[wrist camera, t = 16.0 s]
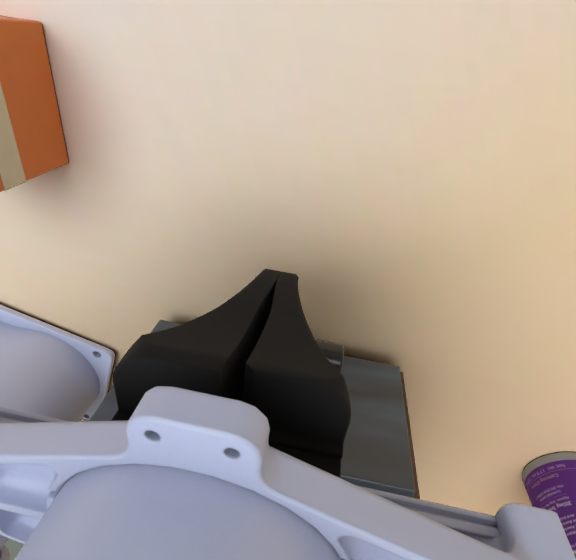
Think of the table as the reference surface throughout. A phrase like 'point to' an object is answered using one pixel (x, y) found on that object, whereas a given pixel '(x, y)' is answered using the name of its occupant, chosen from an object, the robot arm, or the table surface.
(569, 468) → the container
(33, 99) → the snack box
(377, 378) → the drawer
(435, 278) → the table surface
